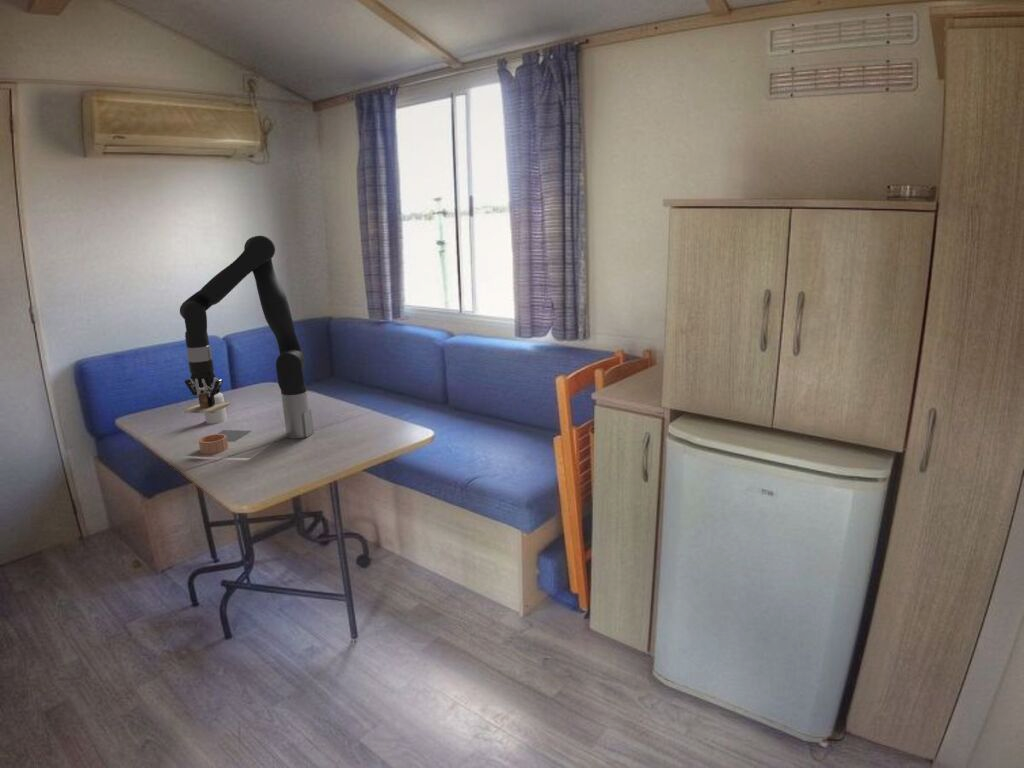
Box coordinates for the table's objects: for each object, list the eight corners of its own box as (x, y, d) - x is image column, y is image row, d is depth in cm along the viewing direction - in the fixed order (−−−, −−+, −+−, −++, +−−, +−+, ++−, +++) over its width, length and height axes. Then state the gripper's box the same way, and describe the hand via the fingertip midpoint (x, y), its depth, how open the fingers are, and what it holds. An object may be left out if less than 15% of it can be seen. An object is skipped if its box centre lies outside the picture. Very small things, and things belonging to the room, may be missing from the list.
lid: (231, 404, 222) (229, 389, 221) (213, 413, 211) (210, 397, 210) (203, 403, 224) (201, 388, 222) (183, 412, 213) (181, 396, 212)
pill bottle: (219, 418, 259) (214, 384, 255) (231, 421, 255) (226, 386, 251) (202, 423, 252) (196, 388, 249) (214, 426, 248) (208, 391, 245)
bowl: (233, 447, 225) (231, 434, 224) (219, 456, 217) (217, 443, 215) (210, 446, 227) (208, 433, 225) (195, 455, 218) (193, 442, 217)
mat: (252, 432, 240) (252, 430, 240) (235, 443, 229) (234, 441, 229) (223, 431, 242) (223, 430, 242) (205, 442, 230) (205, 440, 230)
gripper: (225, 356, 215) (231, 403, 220) (188, 356, 217) (196, 402, 222) (212, 361, 208) (219, 410, 213) (174, 360, 210) (182, 409, 215)
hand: (207, 406), depth 217 cm, fingers closed on lid, 2 cm apart
